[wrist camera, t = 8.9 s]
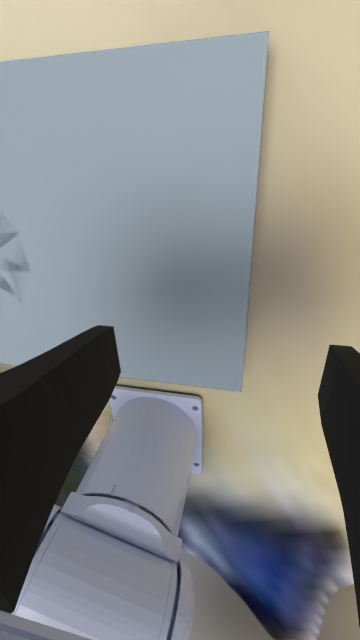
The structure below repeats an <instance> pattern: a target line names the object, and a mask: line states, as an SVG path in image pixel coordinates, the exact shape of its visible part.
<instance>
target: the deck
mask: <svg viewBox="0 0 360 640" xmlns="http://www.w3.org/2000/svg"><path fill="white" fill-rule="evenodd" d="M268 37H269V31H266V32H257V33H248V34H240V35H231V36H222V37H214V38H205V39H196V40H187V41H179V42H170V43H161V44H153V45H144V46H135V47H126V48H118V49H109V50H100V51H92V52H83V53H74V54H66V55H57V56H48V57H39V58H31V59H22V60H13V61H5V62H0V363H4V364H12V365H20V364H22V363H24V362H26V361H28V360H30V359H32V358H34V357H37V356H39V355H41V354H43V353H45V352H47V351H49V350H50V349H52V348H54V347H56V346H58V345H60V344H62V343H63V342H65V341H67V340H69V339H71V338H73V337H75V336H76V335H78V334H80V333H82V332H84V331H86V330H88V329H90V328H92V327H95V326H97V325H103V326H114V332H115V338H116V344H117V350H118V356H119V362H120V368H121V373H120V376H119V377H120V378H128V379H136V380H145V381H153V382H161V383H169V384H178V385H186V386H194V387H203V388H211V389H219V390H227V391H236V392H241V391H242V378H243V364H244V351H245V338H246V325H247V312H248V299H249V286H250V273H251V260H252V246H253V233H254V220H255V207H256V194H257V181H258V168H259V155H260V142H261V128H262V115H263V102H264V89H265V76H266V63H267V50H268Z"/></svg>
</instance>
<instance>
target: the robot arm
mask: <svg viewBox="0 0 360 640" xmlns="http://www.w3.org/2000/svg"><path fill="white" fill-rule="evenodd" d="M120 373H121V368H120V362H119V356H118V350H117V344H116V338H115V332H114V326H103V325H97V326H95V327H92V328H90V329H88V330H86V331H84V332H82V333H80V334H78V335H76V336H75V337H73V338H71V339H69V340H67V341H65V342H63V343H62V344H60V345H58V346H56V347H54V348H52V349H50V350H49V351H47V352H45V353H43V354H41V355H39V356H37V357H34V358H32V359H30V360H28V361H26V362H24V363H22V364H20V365H18V366H16V367H14V368H12V369H9V370H7V371H5V372H2V373H0V640H189V637H190V632H191V625H192V619H193V609H194V584H193V580H192V577H191V574H190V569H189V566H188V564H187V563H186V561H183V560H181V559H179V554H180V550H181V544H182V539H180V538H178V537H177V535H178V532H179V527H180V522H181V517H182V512H183V508H184V503H185V498H186V493H187V489H188V484H189V479H190V474H196V475H200V474H201V473H202V400H201V398H200V397H198V396H192V395H184V394H176V393H168V392H160V391H153V390H145V389H137V388H129V387H121V386H116V384H117V381H118V378H119V376H120ZM114 395H115V396H114ZM318 399H319V408H320V416H321V424H322V428H323V432H324V436H325V440H326V444H327V447H328V451H329V455H330V459H331V463H332V466H333V470H334V474H335V478H336V482H337V485H338V489H339V493H340V497H341V502H342V507H343V512H344V518H345V524H346V530H347V537H348V543H349V550H350V557H351V564H352V571H353V578H354V585H355V593H356V601H357V608H358V617H359V626H360V353H358V352H357V351H356V350H355V349H354V348H353V347H351V346H339V345H330V346H329V350H328V355H327V359H326V363H325V367H324V371H323V376H322V380H321V384H320V388H319V393H318ZM108 401H109V402H110V407H111V412H112V417H113V422H112V424H111V426H110V428H109V430H108V432H107V434H106V436H105V437H104V439H103V441H102V443H101V445H100V447H99V449H98V451H97V453H96V455H95V457H94V458H93V460H92V462H91V464H90V466H89V468H88V470H87V472H86V474H85V476H84V477H83V479H82V481H81V483H80V485H79V487H78V489H77V491H76V493H74V492H71V493H70V495H69V497H68V498H67V500H66V502H65V504H64V506H63V508H62V507H59V506H57V505H55V502H56V500H57V497H58V495H59V493H60V490H61V488H62V486H63V484H64V482H65V479H66V477H67V475H68V473H69V471H70V468H71V466H72V464H73V462H74V460H75V458H76V456H77V454H78V452H79V450H80V449H81V447H82V445H83V443H84V442H85V440H86V438H87V437H88V435H89V433H90V432H91V430H92V428H93V426H94V425H95V423H96V421H97V420H98V418H99V416H100V415H101V413H102V411H103V409H104V408H105V406H106V404H107V402H108ZM194 406H197V407H194ZM61 508H62V510H61Z"/></svg>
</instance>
